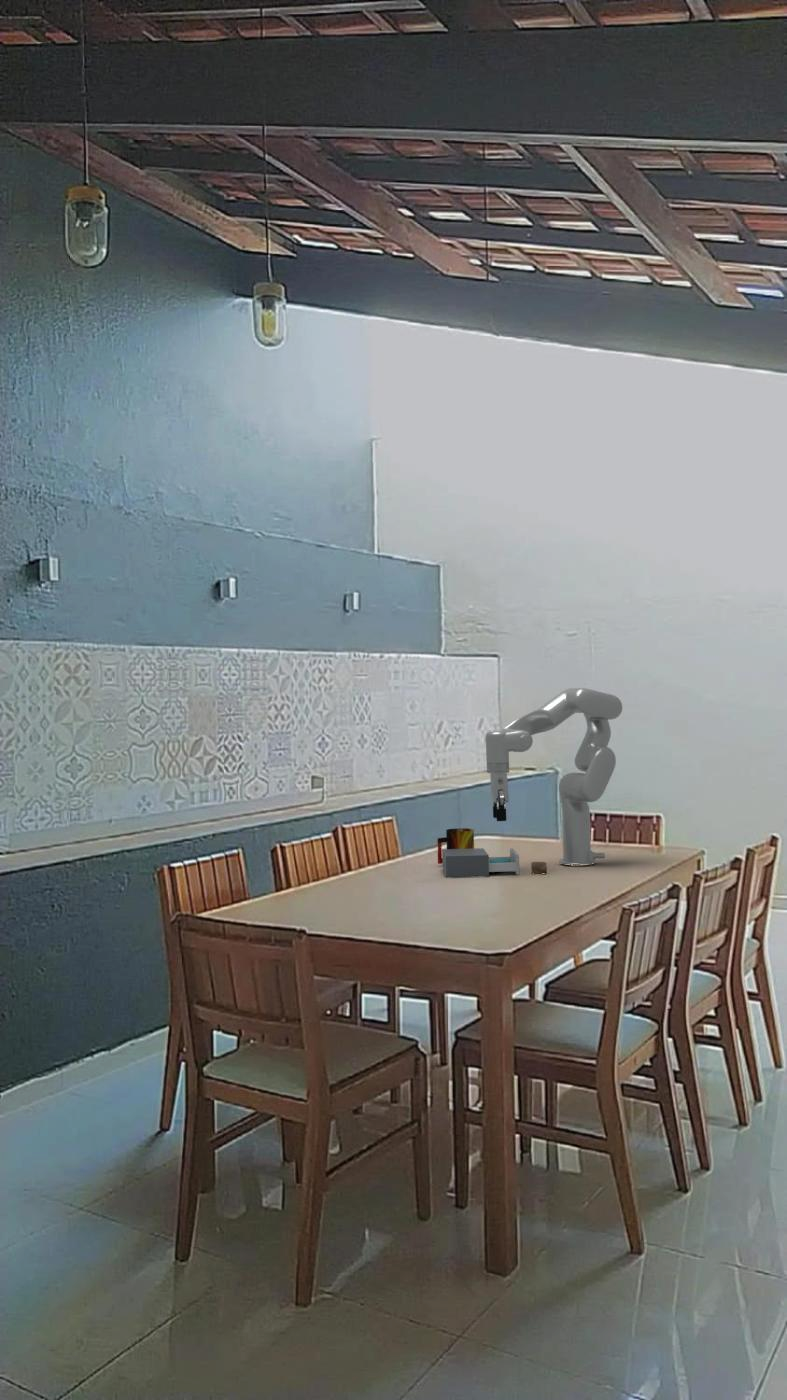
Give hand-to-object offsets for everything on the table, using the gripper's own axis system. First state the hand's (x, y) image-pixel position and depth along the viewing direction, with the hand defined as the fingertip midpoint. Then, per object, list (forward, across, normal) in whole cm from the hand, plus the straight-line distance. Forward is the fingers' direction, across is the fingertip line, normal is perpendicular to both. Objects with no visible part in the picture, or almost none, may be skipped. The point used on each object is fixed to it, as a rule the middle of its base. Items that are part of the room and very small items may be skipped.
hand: (499, 819), depth 388 cm
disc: (+16, 0, 0) cm, 16 cm away
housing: (+18, 0, +12) cm, 21 cm away
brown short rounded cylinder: (+18, -5, -12) cm, 22 cm away
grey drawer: (+17, 0, +2) cm, 17 cm away
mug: (+18, +19, +13) cm, 29 cm away
